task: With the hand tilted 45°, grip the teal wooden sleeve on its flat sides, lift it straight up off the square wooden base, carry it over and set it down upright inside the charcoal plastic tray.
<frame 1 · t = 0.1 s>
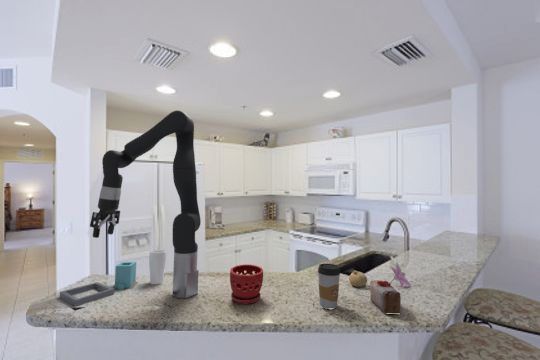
hand: (103, 235, 111), 22 cm above the counter, tool pointing down, fingers open, 8 cm apart
charcoal tray: (87, 299, 100), on the counter
onion: (358, 286, 122), on the counter
square wooden base: (125, 289, 112), on the counter
drinking glass: (156, 286, 116), on the counter
plant pot: (246, 300, 104), on the counter
lily: (399, 286, 123), on the counter
food item: (384, 307, 100), on the counter
coffee cup: (328, 306, 100), on the counter
teal sleeve: (125, 285, 112), point 1 cm above the counter, touching square wooden base
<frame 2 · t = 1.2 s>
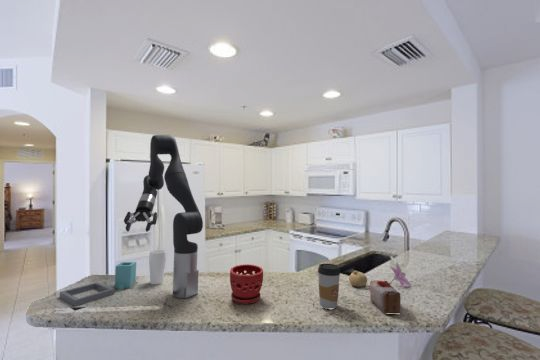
hand: (137, 230, 124), 23 cm above the counter, tool tilted 45°, fingers open, 8 cm apart
nothing on the counter moved.
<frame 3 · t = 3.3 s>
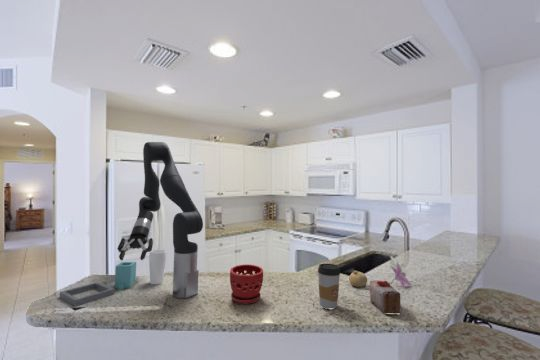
hand: (131, 259, 117), 11 cm above the counter, tool tilted 45°, fingers open, 8 cm apart
nothing on the counter moved.
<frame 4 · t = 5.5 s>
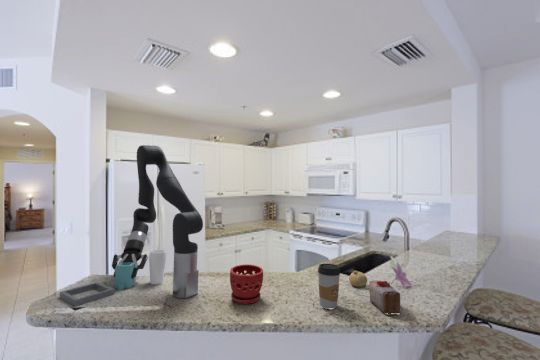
hand: (124, 277, 110), 5 cm above the counter, tool tilted 45°, fingers closed on teal sleeve, 6 cm apart
teal sleeve: (125, 285, 112), point 2 cm above the counter, touching gripper, square wooden base
everything else where it was.
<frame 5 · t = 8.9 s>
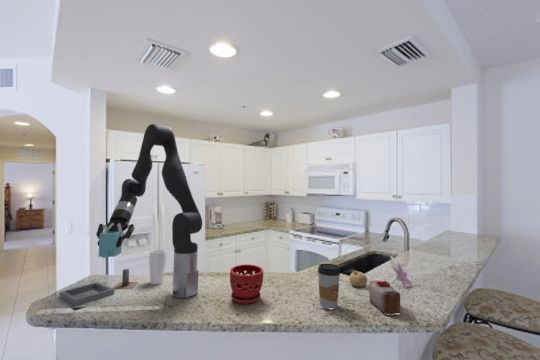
hand: (108, 246, 106), 19 cm above the counter, tool tilted 45°, fingers closed on teal sleeve, 6 cm apart
teal sleeve: (110, 254, 107), point 15 cm above the counter, touching gripper
when the fingers open (6 cm above the counter, at t = 12.5 s): teal sleeve drops 2 cm, resting on charcoal tray.
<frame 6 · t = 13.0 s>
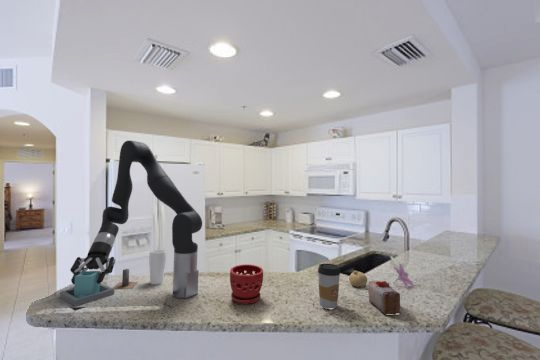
hand: (86, 283, 99), 7 cm above the counter, tool tilted 45°, fingers open, 8 cm apart
teal sleeve: (86, 297, 100), point 1 cm above the counter, touching charcoal tray
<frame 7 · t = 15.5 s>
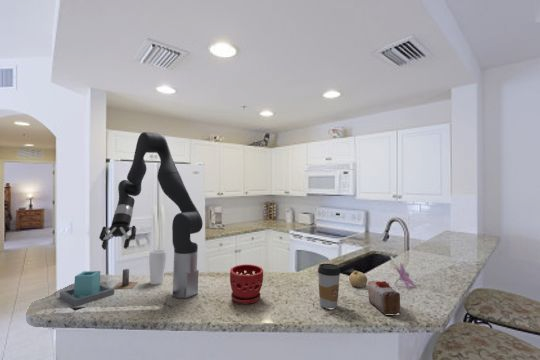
hand: (114, 248, 116), 16 cm above the counter, tool tilted 35°, fingers open, 8 cm apart
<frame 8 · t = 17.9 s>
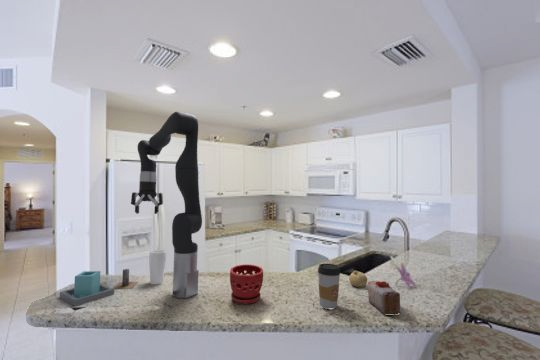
hand: (146, 213, 131), 30 cm above the counter, tool pointing down, fingers open, 8 cm apart
at the end: teal sleeve inside the target area on the charcoal tray (0.1 cm from its centre), point 0.8 cm above the charcoal tray's base; teal sleeve tilted 0°; the gripper is holding nothing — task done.
